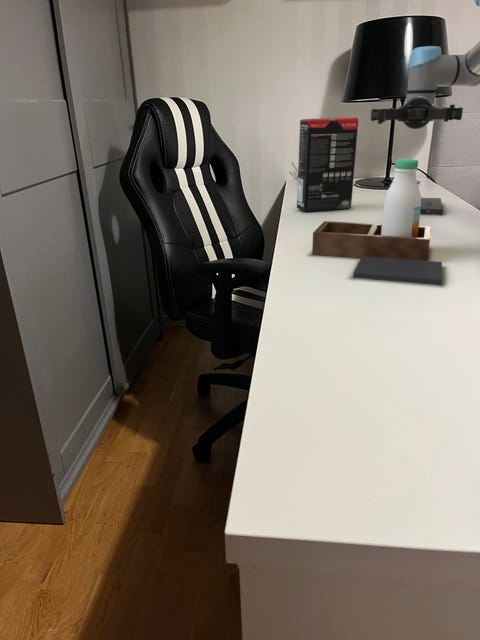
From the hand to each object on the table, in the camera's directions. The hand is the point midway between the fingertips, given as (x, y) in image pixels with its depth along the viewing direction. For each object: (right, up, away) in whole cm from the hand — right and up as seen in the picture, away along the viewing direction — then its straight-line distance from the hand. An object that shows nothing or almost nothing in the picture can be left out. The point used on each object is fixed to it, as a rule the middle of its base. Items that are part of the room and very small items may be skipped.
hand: (413, 115), depth 110 cm
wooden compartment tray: (-8, -29, +4) cm, 31 cm away
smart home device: (+21, -10, +49) cm, 54 cm away
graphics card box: (-11, -10, +51) cm, 53 cm away
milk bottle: (-3, -30, +2) cm, 30 cm away
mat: (-7, -35, -10) cm, 38 cm away
